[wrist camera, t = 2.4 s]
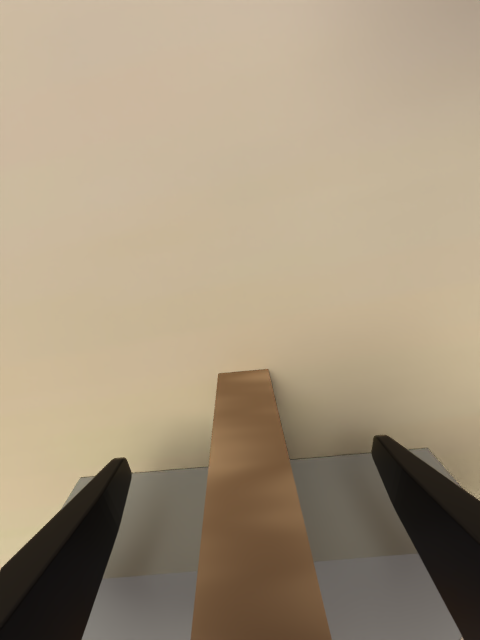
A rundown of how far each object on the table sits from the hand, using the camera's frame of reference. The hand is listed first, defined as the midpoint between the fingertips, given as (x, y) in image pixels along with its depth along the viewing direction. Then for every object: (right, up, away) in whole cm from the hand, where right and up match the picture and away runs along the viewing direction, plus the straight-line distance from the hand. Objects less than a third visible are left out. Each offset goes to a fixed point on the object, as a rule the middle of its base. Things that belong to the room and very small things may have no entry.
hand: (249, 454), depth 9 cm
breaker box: (+1, -11, +8) cm, 13 cm away
